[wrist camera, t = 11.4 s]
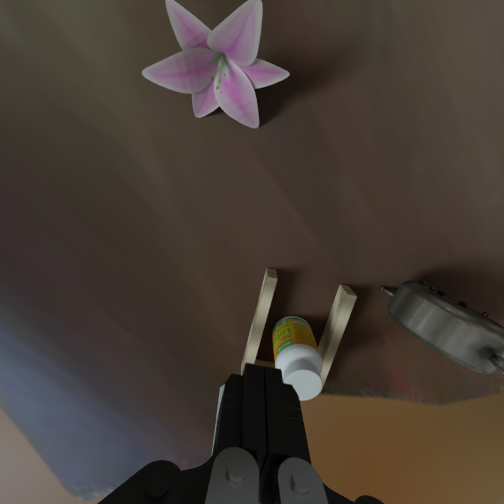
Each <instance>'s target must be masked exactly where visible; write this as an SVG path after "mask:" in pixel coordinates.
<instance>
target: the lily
mask: <svg viewBox="0 0 504 504" xmlns="http://www.w3.org/2000/svg"><path fill="white" fill-rule="evenodd" d="M165 3H166V7H167V12H168V15H169V18H170V21H171V25H172V27H173V30H174V33H175V35H176V38H177V40H178V42H179V44H180V46H181V48H182V50H183V51H181V52H179V53H177V54H175V55H172V56H170V57H168V58H166V59H164V60H162V61H160V62H158V63H155V64H153V65H151V66H149V67H147V68H146V69H144V70H143V71H142V75H143V76H144V77H145V78H147V79H148V80H150V81H152V82H154V83H156V84H158V85H161V86H163V87H165V88H168V89H171V90H174V91H177V92H181V93H191V94H192V105H193V111H194V114H195V116H196V117H199V118H200V117H203V116H205V115H207V114H209V113H211V112H212V111H214V110H215V109H217V108H218V107H219V106H220V107H221V108H222V110H223V111H224V112H225V113H226V114H228V115H229V116H230V117H232V118H233V119H235V120H237V121H238V122H240V123H242V124H244V125H246V126H248V127H251V128H258V127H259V114H258V106H257V99H256V95H255V91H254V89H257V88H262V87H266V86H269V85H272V84H275V83H277V82H279V81H282V80H283V79H285V78H287V77H288V76H289V75H290V74H289V72H288V71H286V70H284V69H282V68H280V67H278V66H276V65H273V64H271V63H269V62H266V61H264V60H261V59H259V58H256V56H257V52H258V47H259V40H260V33H261V24H262V1H261V0H248V1H247V2H245V3H244V4H243V5H241V6H240V7H239V8H238V9H237V10H235V11H234V12H233V13H232V14H231V15H230V16H228V17H227V18H226V19H225V20H224V21H223V22H222V23H220V24H219V25H218V26H217V27H216V28H215V29H214V30H213V31H211V30H210V29H209V28H208V27H207V26H206V25H204V24H203V23H202V22H201V21H200V20H198V19H197V18H196V17H195V16H194V15H192V14H191V13H190V12H189V11H187V10H186V9H185V8H183V7H182V6H181V5H179V4H178V3H177V2H175V1H174V0H166V2H165Z"/></svg>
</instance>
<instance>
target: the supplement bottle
mask: <svg viewBox="0 0 504 504" xmlns="http://www.w3.org/2000/svg"><path fill="white" fill-rule="evenodd" d="M272 337H273V348H274V359H275V368H278V369H281V371H282V377H283V382H284V383H286V384H291V385H292V386H293V387H294V389H295V391H296V392H297V394H298V396H299V400H301V401H303V400H309V399H312V398H314V397H316V396H317V395H318V394H319V393H320V391H321V389H322V379H321V372H322V368H323V364H322V359H321V356H320V353H319V350H318V347H317V344H316V342H315V339H314V336H313V333H312V330H311V327H310V325H309V324H308V323H307V322H306V321H305V320H304V319H302V318H300V317H297V316H288V317H284V318H282V319H281V320H279V321H278V322H277V323H276V324H275V326H274V328H273V332H272Z"/></svg>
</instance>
